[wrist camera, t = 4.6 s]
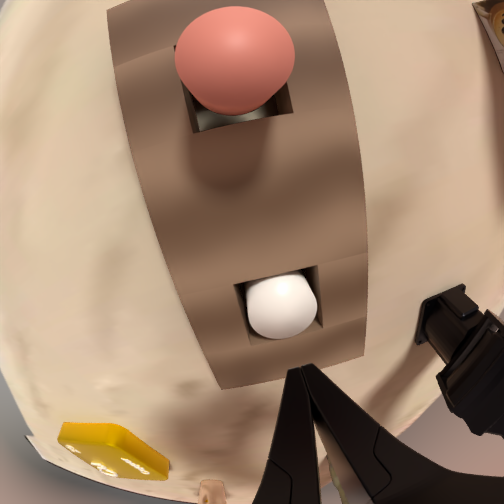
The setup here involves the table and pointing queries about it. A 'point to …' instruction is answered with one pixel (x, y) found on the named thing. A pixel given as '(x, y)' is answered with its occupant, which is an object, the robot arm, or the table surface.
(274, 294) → the pin
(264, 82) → the pink rounded block
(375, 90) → the table surface
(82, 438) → the element tile
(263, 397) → the table surface
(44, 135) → the table surface
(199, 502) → the cup with straw
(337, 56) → the pin block
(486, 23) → the coffee box
